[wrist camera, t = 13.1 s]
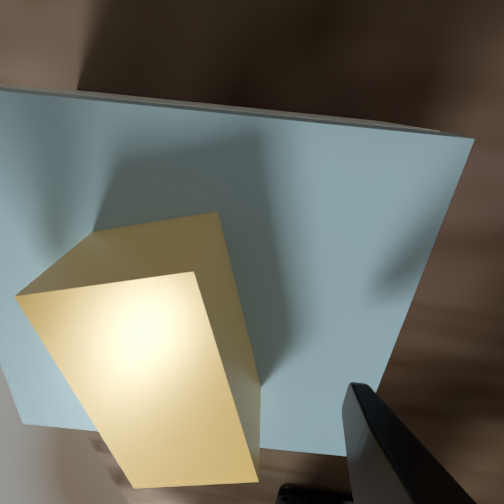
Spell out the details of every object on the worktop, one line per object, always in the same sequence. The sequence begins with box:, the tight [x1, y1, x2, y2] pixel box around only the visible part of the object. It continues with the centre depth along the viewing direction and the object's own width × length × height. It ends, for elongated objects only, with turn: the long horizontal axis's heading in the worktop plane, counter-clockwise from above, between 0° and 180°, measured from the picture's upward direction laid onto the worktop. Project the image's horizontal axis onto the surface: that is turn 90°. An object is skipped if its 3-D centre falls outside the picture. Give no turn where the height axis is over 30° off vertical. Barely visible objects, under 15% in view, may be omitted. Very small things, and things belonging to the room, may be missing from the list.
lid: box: [0, 87, 475, 456], centre depth 10 cm, size 12×13×1 cm
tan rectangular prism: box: [14, 212, 261, 489], centre depth 9 cm, size 6×4×3 cm, turn 11°
